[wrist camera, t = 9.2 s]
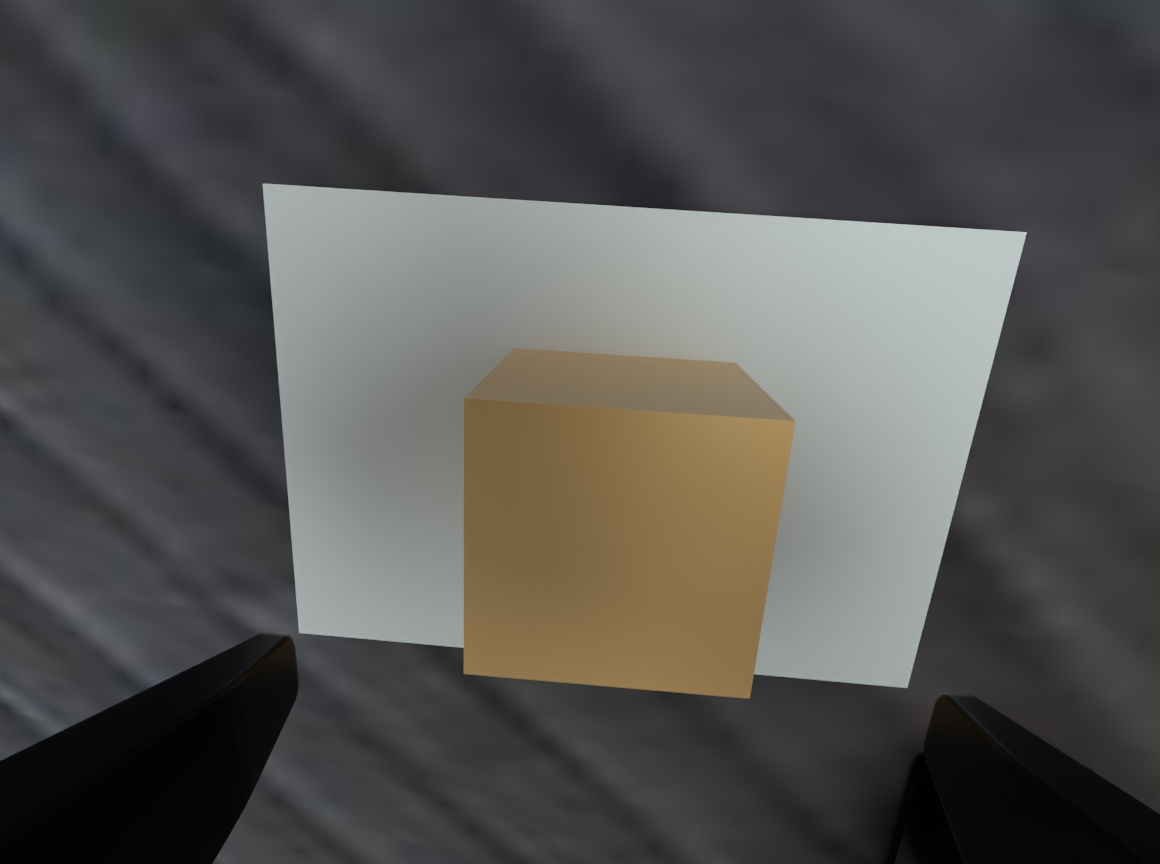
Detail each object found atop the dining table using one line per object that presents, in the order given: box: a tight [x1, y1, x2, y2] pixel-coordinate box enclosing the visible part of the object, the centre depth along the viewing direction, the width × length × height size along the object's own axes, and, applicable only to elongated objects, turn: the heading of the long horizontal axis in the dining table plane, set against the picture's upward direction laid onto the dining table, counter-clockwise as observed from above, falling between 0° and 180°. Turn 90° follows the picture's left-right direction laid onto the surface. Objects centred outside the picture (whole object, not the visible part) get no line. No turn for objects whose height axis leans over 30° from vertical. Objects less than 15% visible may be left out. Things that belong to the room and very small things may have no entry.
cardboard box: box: [464, 348, 796, 699], centre depth 15 cm, size 6×6×6 cm
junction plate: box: [263, 184, 1027, 688], centre depth 17 cm, size 14×20×6 cm
